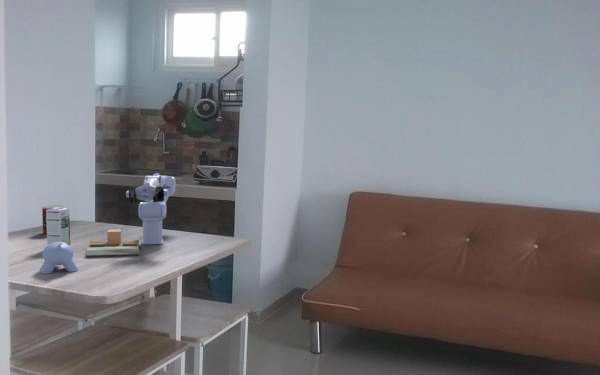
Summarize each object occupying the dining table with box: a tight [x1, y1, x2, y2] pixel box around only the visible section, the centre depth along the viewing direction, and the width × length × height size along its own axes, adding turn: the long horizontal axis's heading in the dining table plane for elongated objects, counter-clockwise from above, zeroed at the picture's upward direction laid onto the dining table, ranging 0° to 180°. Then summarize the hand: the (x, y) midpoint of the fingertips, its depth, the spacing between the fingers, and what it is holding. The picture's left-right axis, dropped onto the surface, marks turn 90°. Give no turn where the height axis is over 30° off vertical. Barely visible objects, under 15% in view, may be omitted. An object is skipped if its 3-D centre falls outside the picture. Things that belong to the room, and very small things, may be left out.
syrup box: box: [46, 206, 71, 246], centre depth 217 cm, size 6×6×14 cm
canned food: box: [41, 204, 64, 235], centre depth 246 cm, size 8×8×11 cm
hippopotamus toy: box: [39, 242, 79, 275], centre depth 188 cm, size 11×15×10 cm
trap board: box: [86, 239, 140, 258], centre depth 215 cm, size 16×17×2 cm
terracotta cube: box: [106, 229, 122, 244], centre depth 217 cm, size 4×4×4 cm
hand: (142, 199), depth 210 cm, fingers open, 7 cm apart
